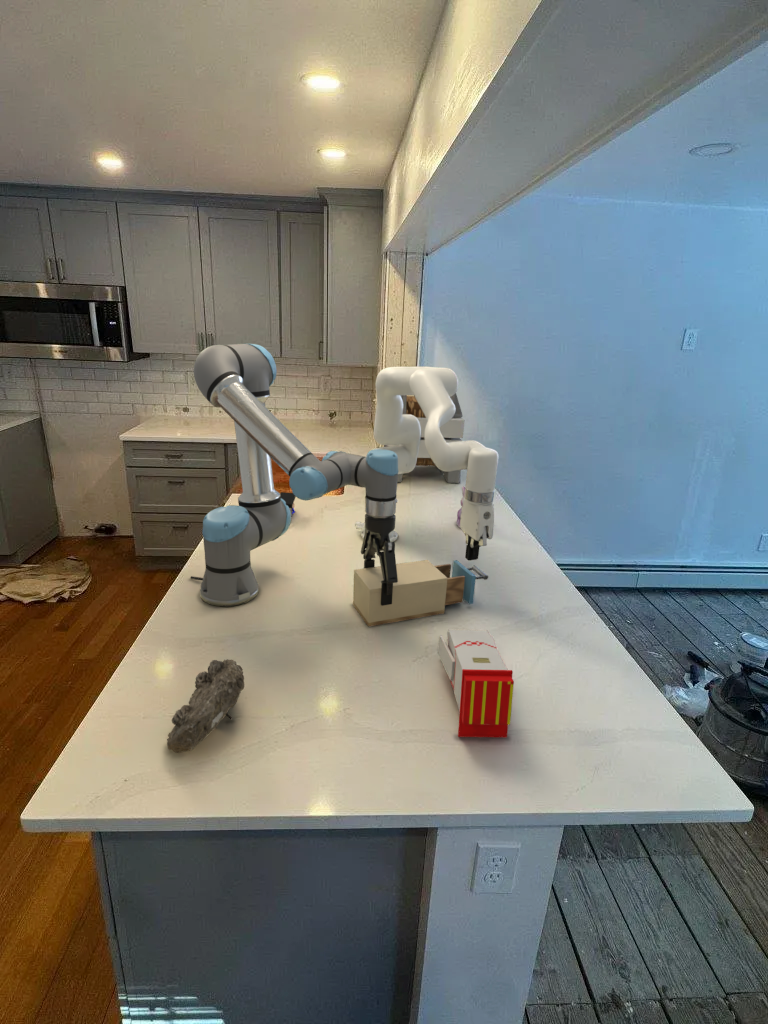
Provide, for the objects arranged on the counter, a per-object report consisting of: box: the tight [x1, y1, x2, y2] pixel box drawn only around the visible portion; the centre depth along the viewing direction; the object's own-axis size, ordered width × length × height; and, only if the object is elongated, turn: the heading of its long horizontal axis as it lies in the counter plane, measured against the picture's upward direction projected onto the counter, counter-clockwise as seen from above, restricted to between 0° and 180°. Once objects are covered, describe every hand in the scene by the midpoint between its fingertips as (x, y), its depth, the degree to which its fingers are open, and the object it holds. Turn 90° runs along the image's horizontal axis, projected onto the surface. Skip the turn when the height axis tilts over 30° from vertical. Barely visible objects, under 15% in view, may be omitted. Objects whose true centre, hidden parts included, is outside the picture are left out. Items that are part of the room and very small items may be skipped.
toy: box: [437, 628, 515, 738], centre depth 117 cm, size 12×13×30 cm
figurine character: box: [279, 492, 297, 518], centre depth 210 cm, size 7×8×15 cm
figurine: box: [455, 485, 465, 529], centre depth 208 cm, size 9×10×15 cm
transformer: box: [383, 392, 465, 484], centre depth 268 cm, size 34×33×41 cm
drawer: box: [434, 559, 489, 606], centre depth 153 cm, size 25×10×8 cm, turn 112°
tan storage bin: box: [352, 559, 447, 627], centre depth 148 cm, size 21×12×10 cm, turn 112°
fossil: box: [166, 658, 245, 754], centre depth 106 cm, size 22×10×15 cm
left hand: (377, 593), depth 146 cm, fingers closed on tan storage bin, 12 cm apart
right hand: (471, 558), depth 154 cm, fingers closed
